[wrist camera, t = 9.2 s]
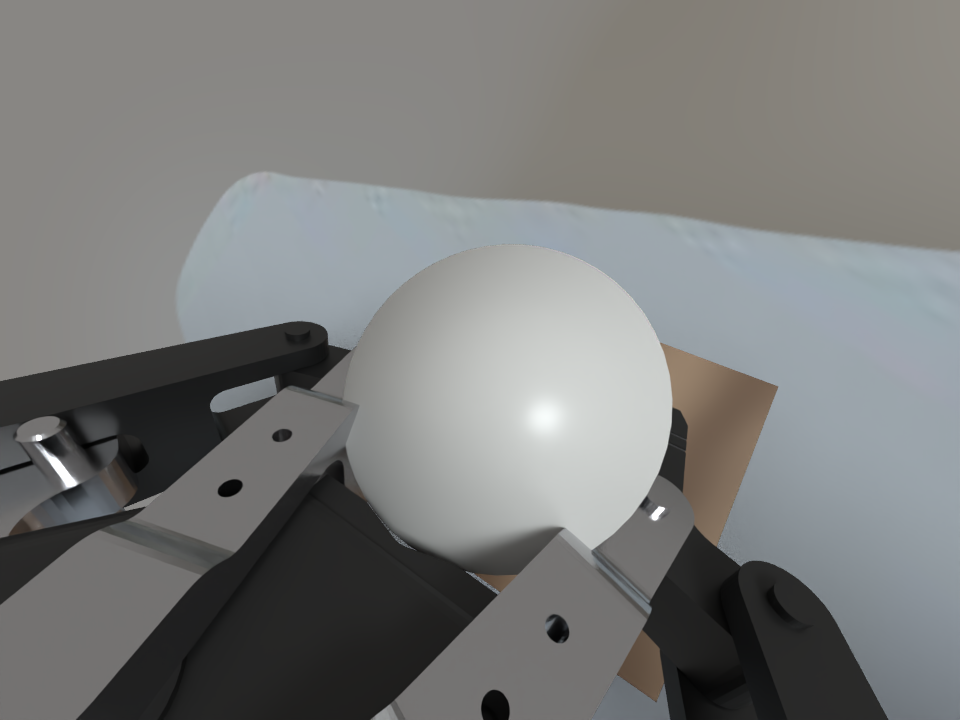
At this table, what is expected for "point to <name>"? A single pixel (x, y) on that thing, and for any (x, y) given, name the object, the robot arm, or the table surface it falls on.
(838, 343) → the table surface
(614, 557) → the robot arm
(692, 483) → the mount board
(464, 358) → the white capped grey cylinder
